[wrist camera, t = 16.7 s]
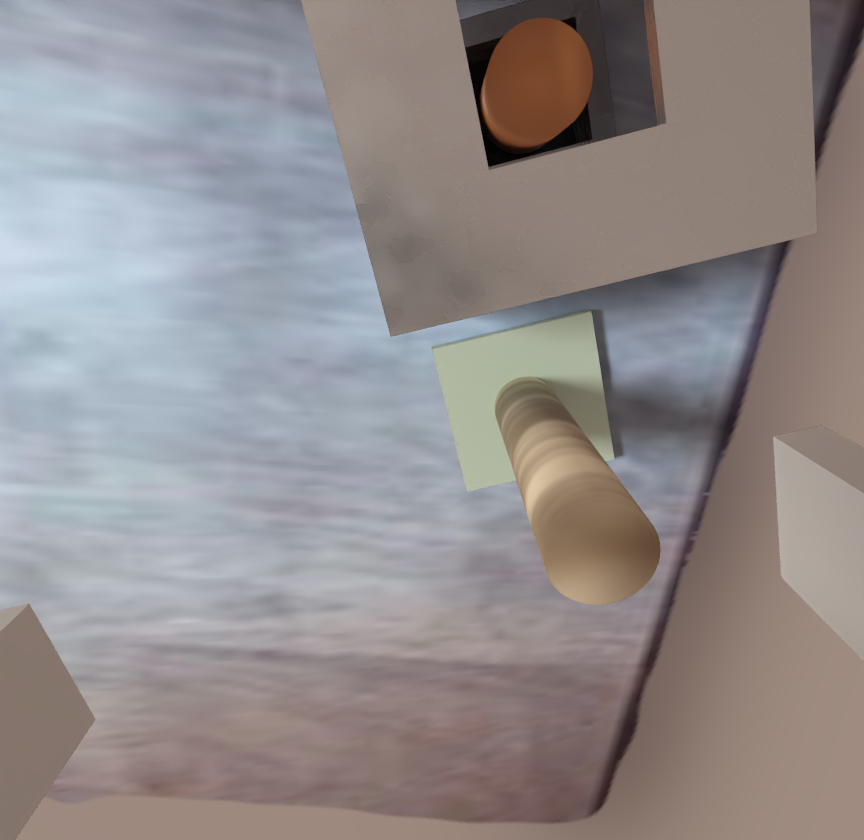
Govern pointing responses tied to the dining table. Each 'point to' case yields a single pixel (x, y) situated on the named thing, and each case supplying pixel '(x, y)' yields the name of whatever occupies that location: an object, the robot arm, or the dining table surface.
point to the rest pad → (513, 358)
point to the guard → (565, 151)
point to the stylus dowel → (574, 499)
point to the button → (534, 85)
